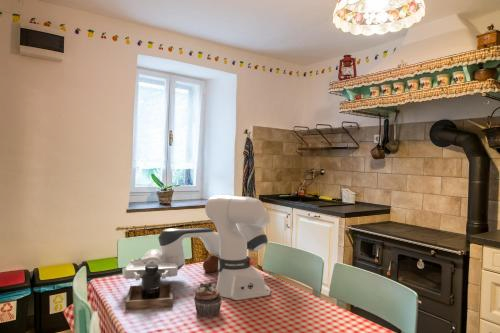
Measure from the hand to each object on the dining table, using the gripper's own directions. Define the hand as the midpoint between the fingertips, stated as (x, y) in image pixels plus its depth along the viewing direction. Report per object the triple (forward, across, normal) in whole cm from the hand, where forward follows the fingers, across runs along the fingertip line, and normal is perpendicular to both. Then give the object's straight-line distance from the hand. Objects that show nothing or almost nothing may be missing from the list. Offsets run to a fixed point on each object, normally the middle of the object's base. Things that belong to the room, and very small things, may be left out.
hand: (150, 277), depth 129 cm
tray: (0, 0, -9) cm, 9 cm away
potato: (-31, -27, -9) cm, 42 cm away
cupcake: (+15, -20, -9) cm, 26 cm away
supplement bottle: (0, 0, -8) cm, 8 cm away
